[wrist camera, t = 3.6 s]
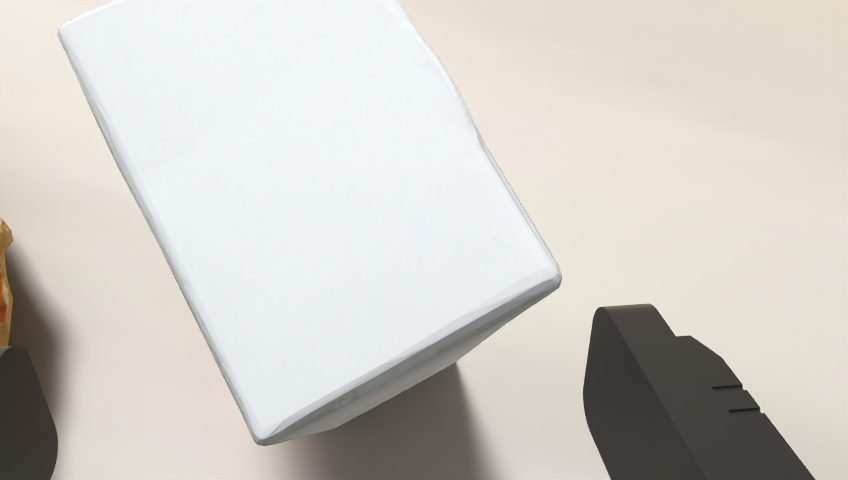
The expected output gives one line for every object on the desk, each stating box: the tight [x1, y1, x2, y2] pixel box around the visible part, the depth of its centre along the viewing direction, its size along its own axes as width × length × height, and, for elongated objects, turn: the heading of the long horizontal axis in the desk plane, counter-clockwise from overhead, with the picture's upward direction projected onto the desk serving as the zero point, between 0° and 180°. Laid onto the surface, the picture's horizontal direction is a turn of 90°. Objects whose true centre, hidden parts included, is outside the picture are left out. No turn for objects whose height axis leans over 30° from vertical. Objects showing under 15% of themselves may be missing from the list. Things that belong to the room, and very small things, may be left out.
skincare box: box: [57, 0, 562, 446], centre depth 14 cm, size 6×4×12 cm
